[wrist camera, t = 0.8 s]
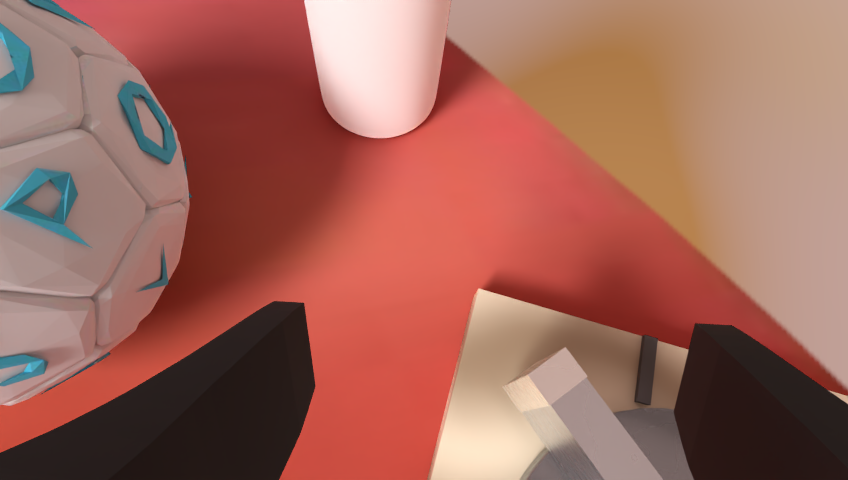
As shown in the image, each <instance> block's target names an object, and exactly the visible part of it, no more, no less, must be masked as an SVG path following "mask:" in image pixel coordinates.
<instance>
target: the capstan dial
mask: <svg viewBox="0 0 848 480" xmlns="http://www.w3.org/2000/svg"><path fill="white" fill-rule="evenodd" d="M586 377H588V376H587V375H586V373H585V372H584V371H583V369H582V368H581V367H580V365H579V364H578V363H577V362H576V360H575V359H574V358H573V356H572V355H571V354H570V352H569V351H568V350H567V348H566V347H564V348H563V349H561V350H559V351H557V352H555V353H553V354H551V355H549V356H547V357H546V358H544V359H542V360H540V361H538V362H536V363H534V364H533V365H531V366H530V367H529V368H527V369H526V370H525V371H523V372H522V373H521V374H519V375H518V376H516V377H515V378H514V379H512V380H511V381H510V382H508V383H507V384H506V385H504V386H503V387H502V388H503V389H504V390H505V392H506V393H507V395H508V396H509V398H510V399H511V400H512V402H513V403H514V405H515V406H516V408H517V409H518V410H519V412H522V414H523V415H524V416H525V418H526V419H527V421H528V422H529V424H530V425H531V426H532V428H533V429H534V431H535V432H536V434H537V435H538V436H539V438H540V439H541V441H542V442H543V444H544V445H545V446H546V448H545V449H544V450H543V451H542V452H541V453H539V455H538V456H537V457H536V458H535V459H534V461H533V462H532V463H531V464H530V466H529V467H528V468H527V469H526V471H525V472H524V474H523V475H522V477H521V479H520V480H694V479H693V476H692V474H691V471H690V469H689V466H688V463H687V460H686V456H685V453H684V449H683V446H682V442H681V439H680V435H679V431H678V427H677V423H676V419H675V416H674V409H668V408H639V409H632V410H625V411H619V412H612V411H611V410H610V408H609V407H608V406H607V404H606V403H605V402H604V400H603V399H602V398H601V396H600V395H599V394H598V393H597V391H596V390H595V389H594V387H593V386H592V385H591V383H590V382H589V381H588V379H587V378H586Z"/></svg>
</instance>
